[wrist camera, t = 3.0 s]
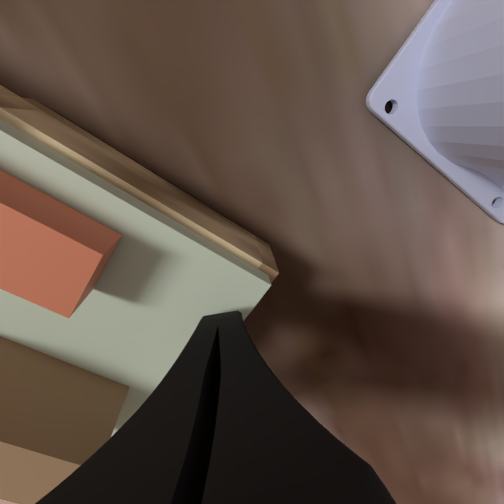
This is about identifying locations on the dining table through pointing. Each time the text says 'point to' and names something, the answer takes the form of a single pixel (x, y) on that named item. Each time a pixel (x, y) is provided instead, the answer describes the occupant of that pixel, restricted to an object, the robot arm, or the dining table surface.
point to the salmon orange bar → (49, 248)
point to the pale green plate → (100, 324)
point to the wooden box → (134, 179)
